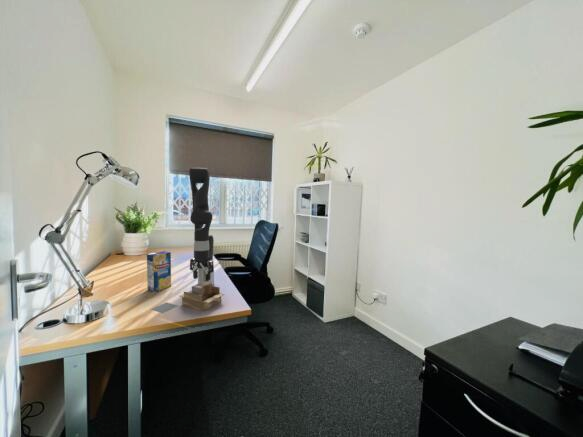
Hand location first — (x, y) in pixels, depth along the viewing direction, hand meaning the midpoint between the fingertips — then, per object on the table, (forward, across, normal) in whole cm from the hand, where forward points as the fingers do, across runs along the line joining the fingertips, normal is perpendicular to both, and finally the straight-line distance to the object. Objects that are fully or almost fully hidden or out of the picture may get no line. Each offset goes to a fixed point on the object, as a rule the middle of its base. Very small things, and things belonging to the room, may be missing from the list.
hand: (201, 279), depth 120 cm
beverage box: (+13, +41, -6) cm, 44 cm away
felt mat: (+14, +13, +12) cm, 22 cm away
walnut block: (+13, 0, 0) cm, 13 cm away
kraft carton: (+13, 0, 0) cm, 13 cm away
